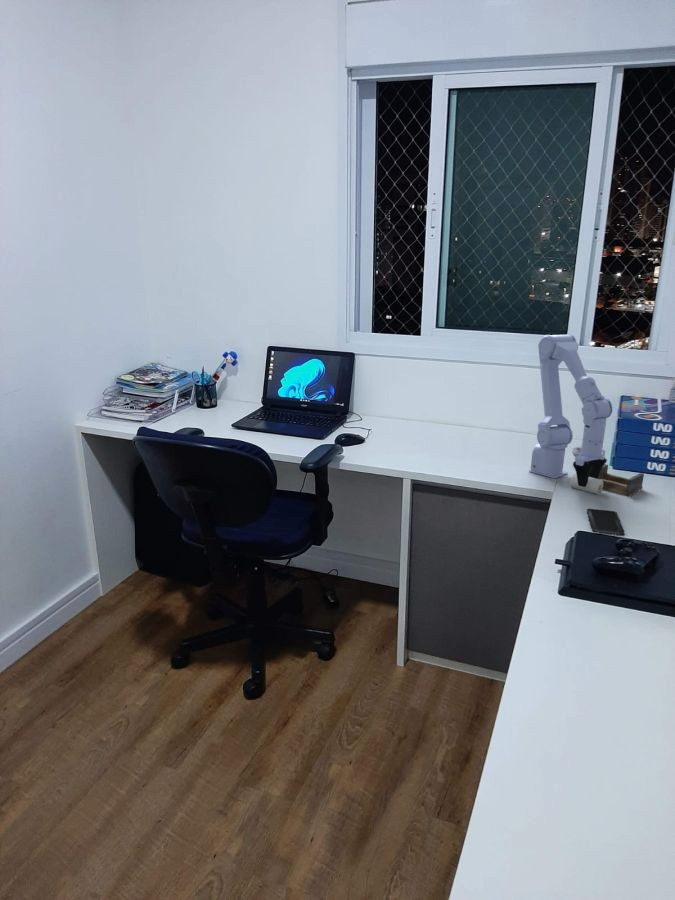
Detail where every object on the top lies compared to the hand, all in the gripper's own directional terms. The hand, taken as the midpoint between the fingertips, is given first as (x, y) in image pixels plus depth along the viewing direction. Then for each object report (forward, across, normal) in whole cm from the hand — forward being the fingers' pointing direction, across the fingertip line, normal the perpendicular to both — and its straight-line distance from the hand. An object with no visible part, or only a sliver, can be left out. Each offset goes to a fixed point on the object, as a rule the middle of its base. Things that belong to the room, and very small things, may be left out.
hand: (587, 483), depth 199 cm
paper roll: (0, 0, 0) cm, 0 cm away
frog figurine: (+2, +21, +12) cm, 24 cm away
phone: (+3, -20, -15) cm, 25 cm away
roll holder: (+2, +9, -5) cm, 11 cm away
